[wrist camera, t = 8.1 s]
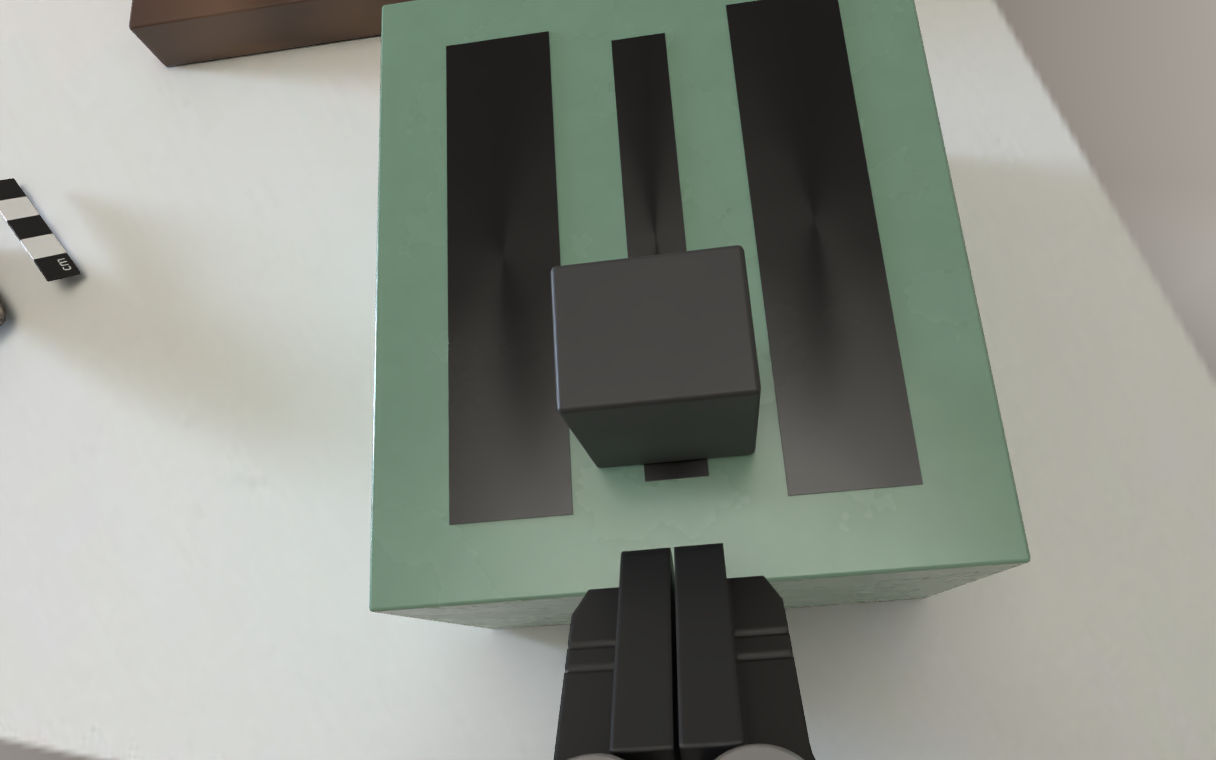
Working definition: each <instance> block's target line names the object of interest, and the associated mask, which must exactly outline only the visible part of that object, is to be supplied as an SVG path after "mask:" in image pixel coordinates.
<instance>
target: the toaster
mask: <svg viewBox="0 0 1216 760" xmlns="http://www.w3.org/2000/svg"><path fill="white" fill-rule="evenodd" d="M734 245H740V246H742V247H743V249H744V253H745V261H746V269H747V277H748V285H749V294H750V302H751V310H752V318H753V326H754V335H755V343H756V351H757V359H758V367H759V375H760V384H761V395H760V406H759V416H758V427H757V437H756V448H755V452H754V453H753V454H749V455H738V456H727V457H716V458H705V459H694V460H683V461H672V462H661V463H650V464H639V465H628V466H617V467H606V468H599V467H597V466H596V465H595V464H594V462H593V461H592V459H591V458H590V456H589V455H588V454H587V452H586V451H585V449H584V448H583V446H582V445H581V444H580V442H579V441H578V439H577V438H576V437H575V435H574V434H573V432H572V431H571V429H570V428H569V427H568V425H567V424H566V422H565V421H564V419H563V418H562V417H561V415H560V414H559V412H558V410H557V399H556V377H555V356H554V334H553V313H552V291H551V270H552V268H553V267H555V266H564V265H572V264H581V263H589V262H598V261H606V260H615V259H623V258H632V257H640V256H649V255H658V254H666V253H675V252H683V251H692V250H700V249H709V248H717V247H726V246H734ZM715 543H723V547H724V557H725V566H726V576H727V578H738V577H750V576H764V577H765V578H766V579H767V580H768V582H769V583H770V584H771V585H772V587H773V588H774V589H775V590H776V591H777V593H778V594H779V595H780V596H781V598H782V599H783V603H784V608H794V607H807V606H821V605H835V604H849V603H863V602H877V601H891V600H904V599H918V598H926V597H929V596H932V595H935V594H938V593H940V592H943V591H946V590H949V589H952V588H955V587H958V586H961V585H964V584H966V583H969V582H972V581H975V580H978V579H981V578H984V577H987V576H990V575H992V574H995V573H998V572H1001V571H1004V570H1007V569H1010V568H1013V567H1016V566H1019V565H1021V564H1024V563H1027V562H1029V561H1030V553H1029V549H1028V544H1027V539H1026V534H1025V529H1024V525H1023V520H1022V515H1021V510H1020V505H1019V501H1018V496H1017V491H1016V486H1015V482H1014V477H1013V472H1012V467H1011V462H1010V458H1009V453H1008V448H1007V443H1006V438H1005V434H1004V429H1003V424H1002V419H1001V415H1000V410H999V405H998V400H997V395H996V391H995V386H994V381H993V376H992V371H991V367H990V362H989V357H988V352H987V347H986V343H985V338H984V333H983V328H982V324H981V319H980V314H979V309H978V304H977V300H976V295H975V290H974V285H973V280H972V276H971V271H970V266H969V261H968V256H967V252H966V247H965V242H964V237H963V233H962V228H961V223H960V218H959V213H958V209H957V204H956V199H955V194H954V189H953V185H952V180H951V175H950V170H949V165H948V161H947V156H946V151H945V146H944V142H943V137H942V132H941V127H940V122H939V118H938V113H937V108H936V103H935V98H934V94H933V89H932V84H931V79H930V75H929V70H928V65H927V60H926V55H925V51H924V46H923V41H922V36H921V31H920V27H919V22H918V17H917V12H916V7H915V3H914V0H415V1H408V2H402V3H395V4H389V5H384V6H383V7H382V34H381V82H380V129H379V177H378V225H377V272H376V320H375V368H374V415H373V463H372V510H371V558H370V606H369V608H370V611H372V612H377V613H384V614H391V615H398V616H405V617H412V618H419V619H426V620H433V621H440V622H447V623H454V624H461V625H468V626H475V627H482V628H489V629H502V628H516V627H530V626H544V625H558V624H571V616H572V614H573V612H574V611H575V609H576V608H577V606H578V605H579V603H580V602H581V600H582V599H583V597H584V596H585V594H586V593H587V591H588V590H589V589H602V588H614V587H619V577H620V560H621V553H622V551H634V550H646V549H658V548H671V552H672V558H673V565H674V547H680V546H691V545H703V544H715ZM674 572H675V567H674Z"/></svg>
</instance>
